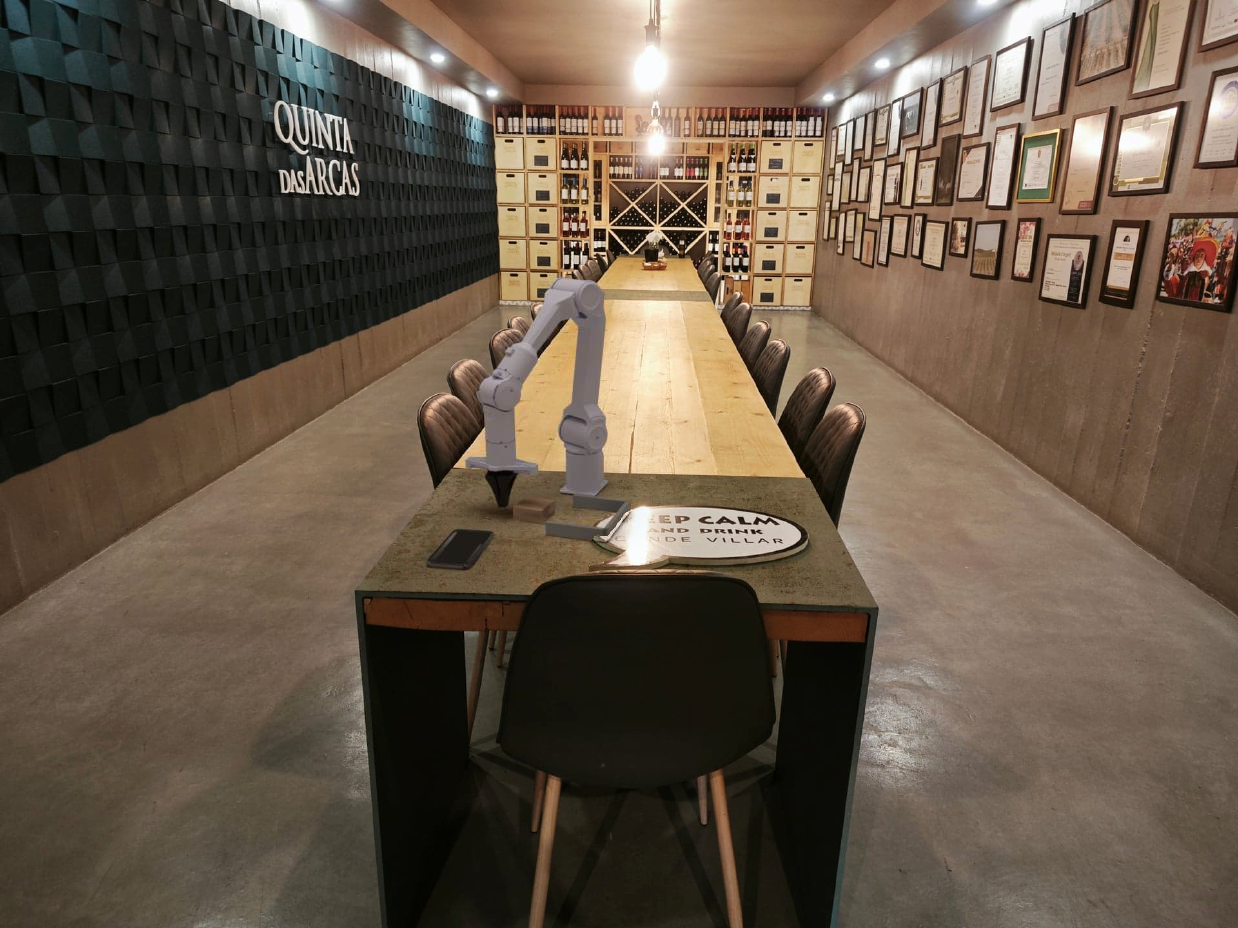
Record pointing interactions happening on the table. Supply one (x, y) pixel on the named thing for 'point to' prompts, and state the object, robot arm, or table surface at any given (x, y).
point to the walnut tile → (533, 510)
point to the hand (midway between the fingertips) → (503, 505)
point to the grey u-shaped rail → (589, 531)
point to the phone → (460, 549)
